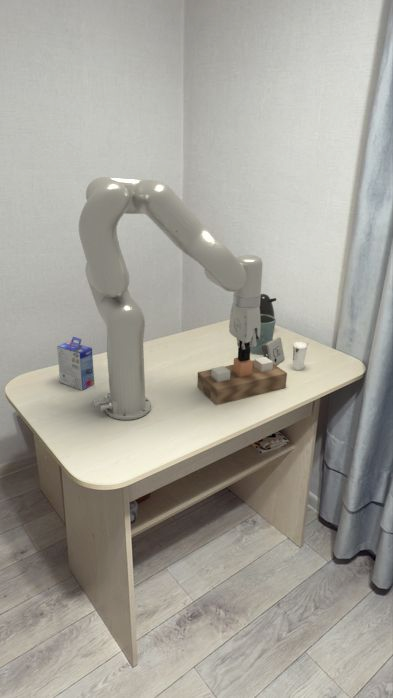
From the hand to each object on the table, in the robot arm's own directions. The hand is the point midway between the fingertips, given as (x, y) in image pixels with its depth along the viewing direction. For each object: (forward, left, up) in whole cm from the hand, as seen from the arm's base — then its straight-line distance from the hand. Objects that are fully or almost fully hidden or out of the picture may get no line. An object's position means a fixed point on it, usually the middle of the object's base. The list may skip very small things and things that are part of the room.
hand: (243, 359), depth 139 cm
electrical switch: (+19, +11, -10) cm, 24 cm away
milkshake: (+24, +3, -10) cm, 26 cm away
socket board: (0, 0, -9) cm, 9 cm away
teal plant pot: (+21, +22, -10) cm, 32 cm away
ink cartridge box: (-44, +24, -10) cm, 51 cm away
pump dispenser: (+32, +37, -10) cm, 50 cm away
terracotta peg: (0, 0, -6) cm, 7 cm away
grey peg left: (-8, 0, -8) cm, 11 cm away
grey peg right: (+7, 0, -8) cm, 11 cm away
